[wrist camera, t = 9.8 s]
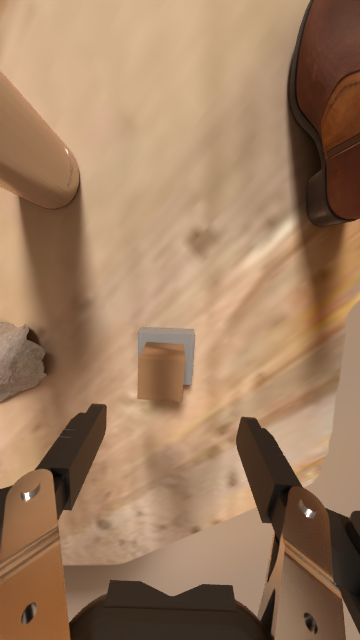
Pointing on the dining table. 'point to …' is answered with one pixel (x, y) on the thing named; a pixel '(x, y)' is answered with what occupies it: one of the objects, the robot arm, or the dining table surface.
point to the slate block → (175, 338)
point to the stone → (18, 360)
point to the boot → (330, 106)
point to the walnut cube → (161, 372)
